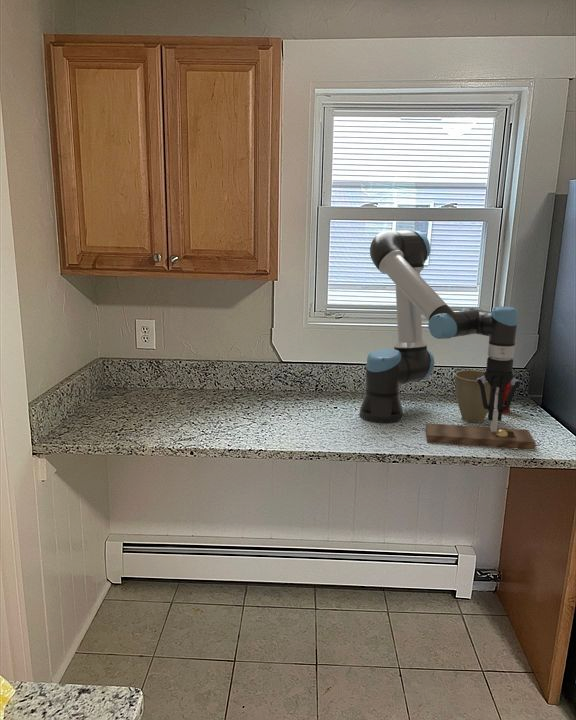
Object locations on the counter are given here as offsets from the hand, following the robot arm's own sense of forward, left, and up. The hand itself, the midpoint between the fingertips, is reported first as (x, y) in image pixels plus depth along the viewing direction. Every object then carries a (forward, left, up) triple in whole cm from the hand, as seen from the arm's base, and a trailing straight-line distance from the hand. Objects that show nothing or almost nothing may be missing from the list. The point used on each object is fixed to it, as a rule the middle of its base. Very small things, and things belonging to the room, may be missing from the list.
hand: (493, 430), depth 183 cm
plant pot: (-3, +20, -4) cm, 21 cm away
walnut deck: (-4, 0, -4) cm, 6 cm away
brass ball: (+3, 0, -2) cm, 3 cm away
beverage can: (+8, +30, -4) cm, 31 cm away
